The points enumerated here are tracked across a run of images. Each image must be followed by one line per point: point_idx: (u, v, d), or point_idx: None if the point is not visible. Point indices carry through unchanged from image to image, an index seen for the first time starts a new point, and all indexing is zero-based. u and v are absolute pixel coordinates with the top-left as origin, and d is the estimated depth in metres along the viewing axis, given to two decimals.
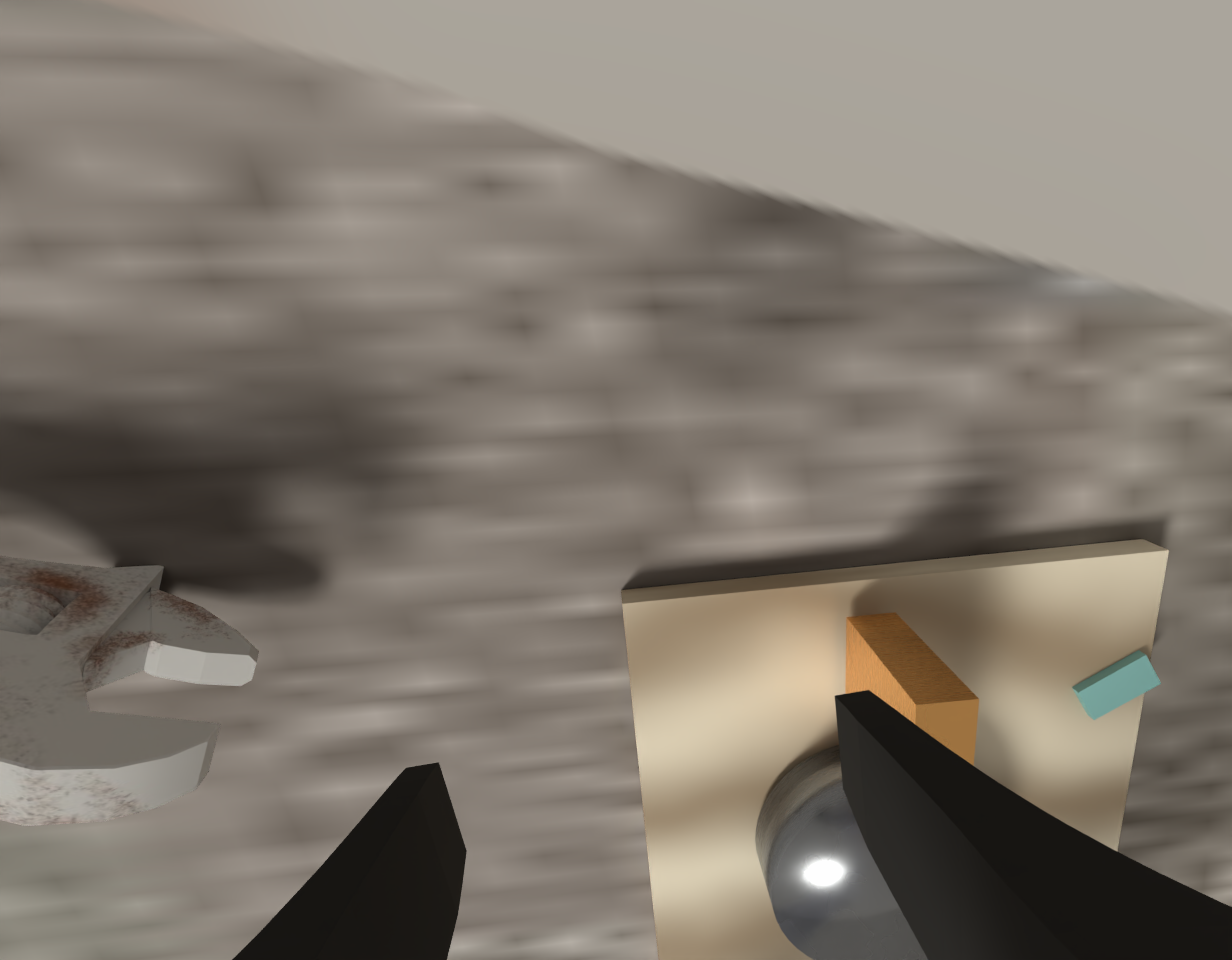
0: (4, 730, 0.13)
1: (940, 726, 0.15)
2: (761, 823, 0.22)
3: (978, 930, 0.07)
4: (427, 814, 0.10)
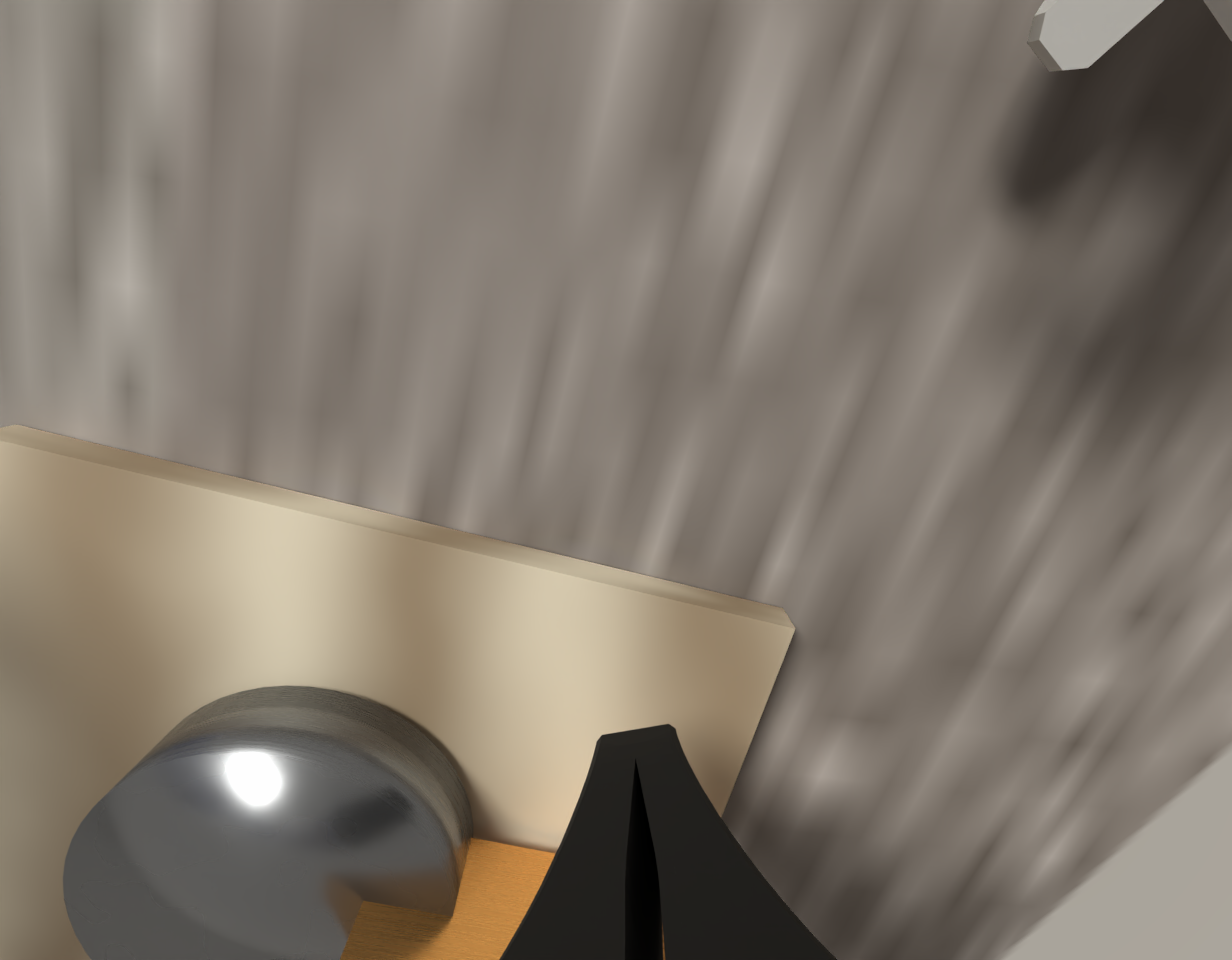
0: None
1: None
2: (376, 718, 0.14)
3: None
4: None
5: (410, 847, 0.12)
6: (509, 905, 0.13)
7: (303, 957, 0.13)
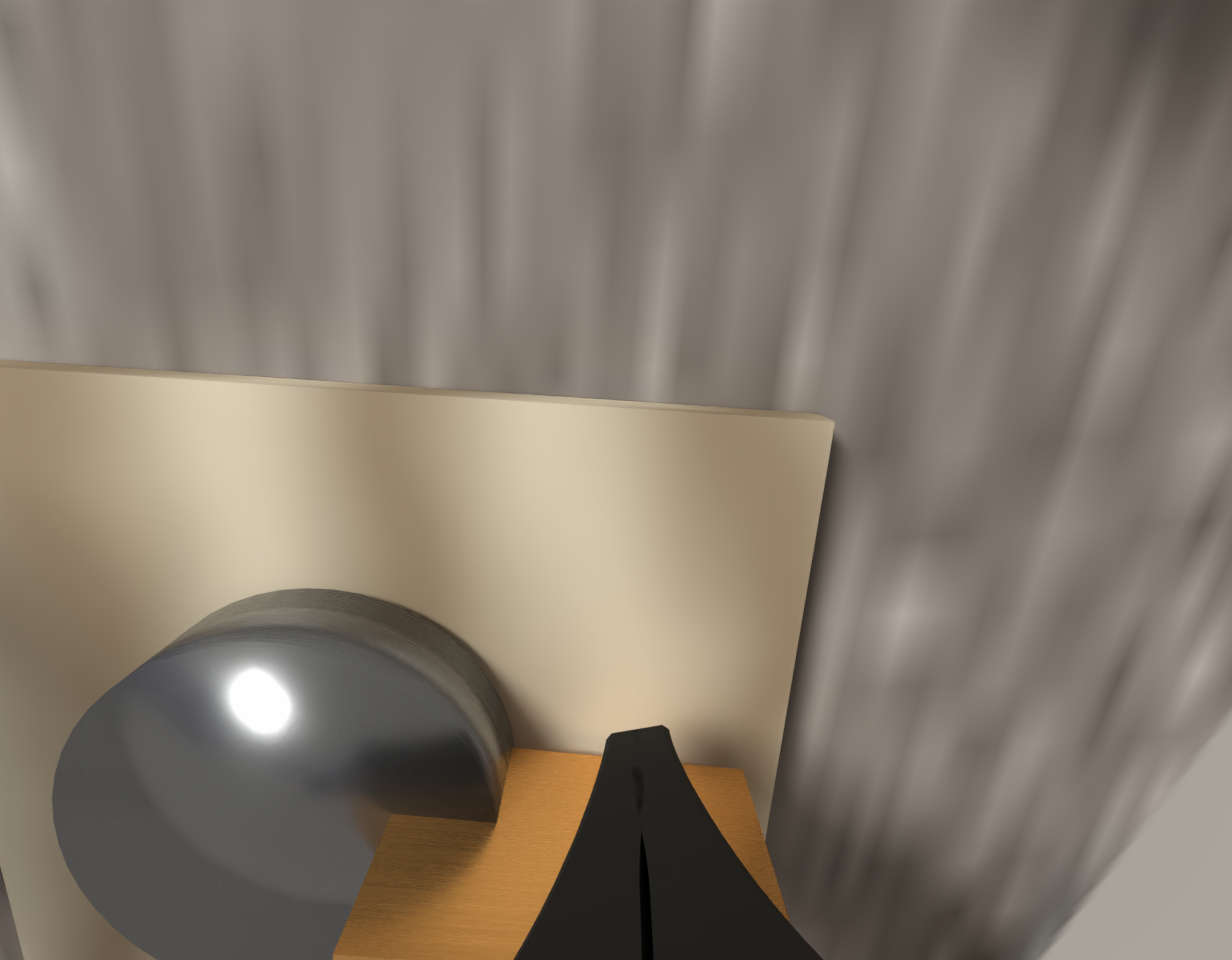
0: None
1: None
2: (385, 613, 0.12)
3: None
4: None
5: (435, 742, 0.11)
6: (561, 808, 0.12)
7: (334, 889, 0.11)
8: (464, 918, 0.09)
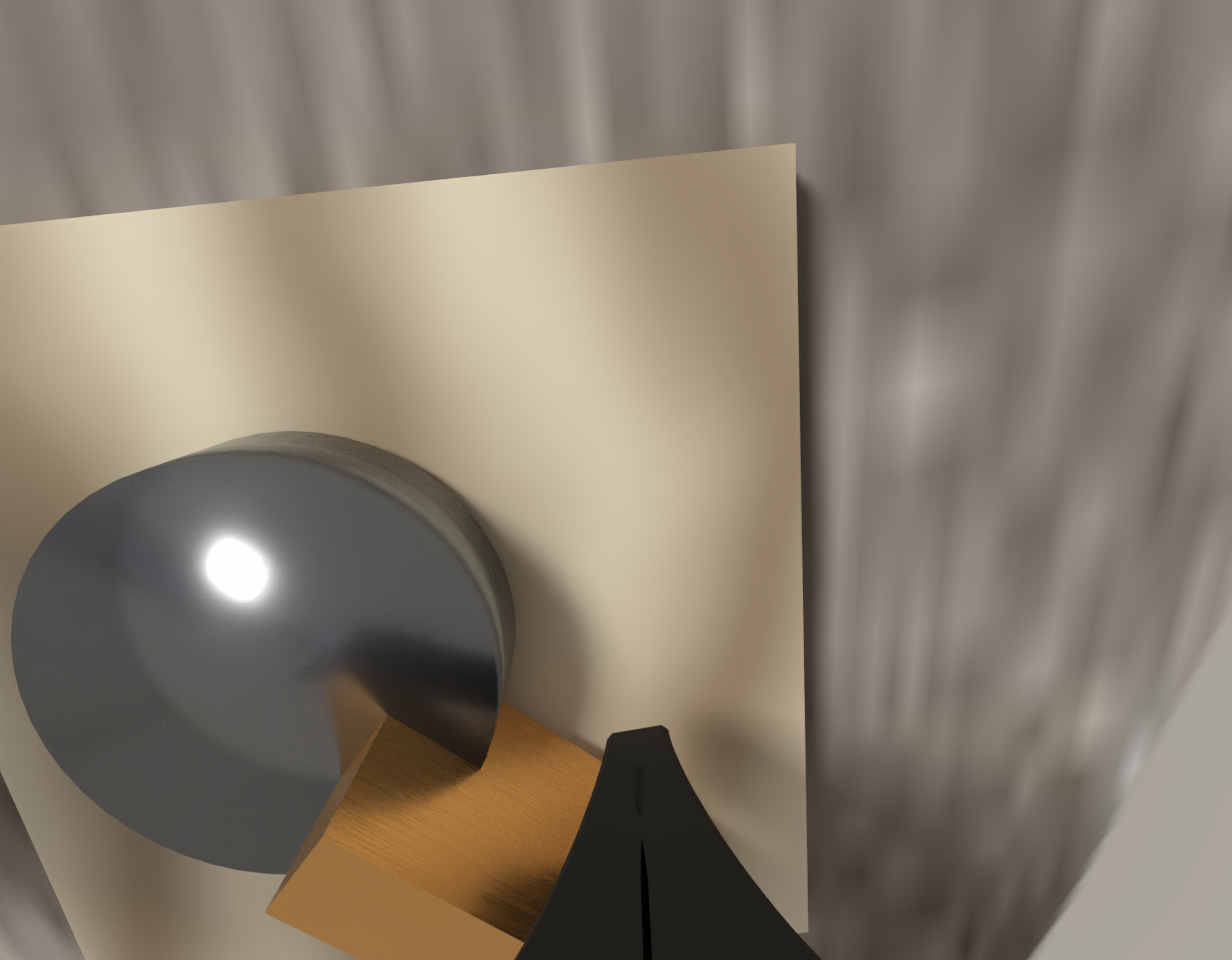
0: None
1: None
2: (465, 520, 0.11)
3: None
4: None
5: (474, 669, 0.10)
6: (537, 781, 0.11)
7: (281, 760, 0.11)
8: (445, 853, 0.09)
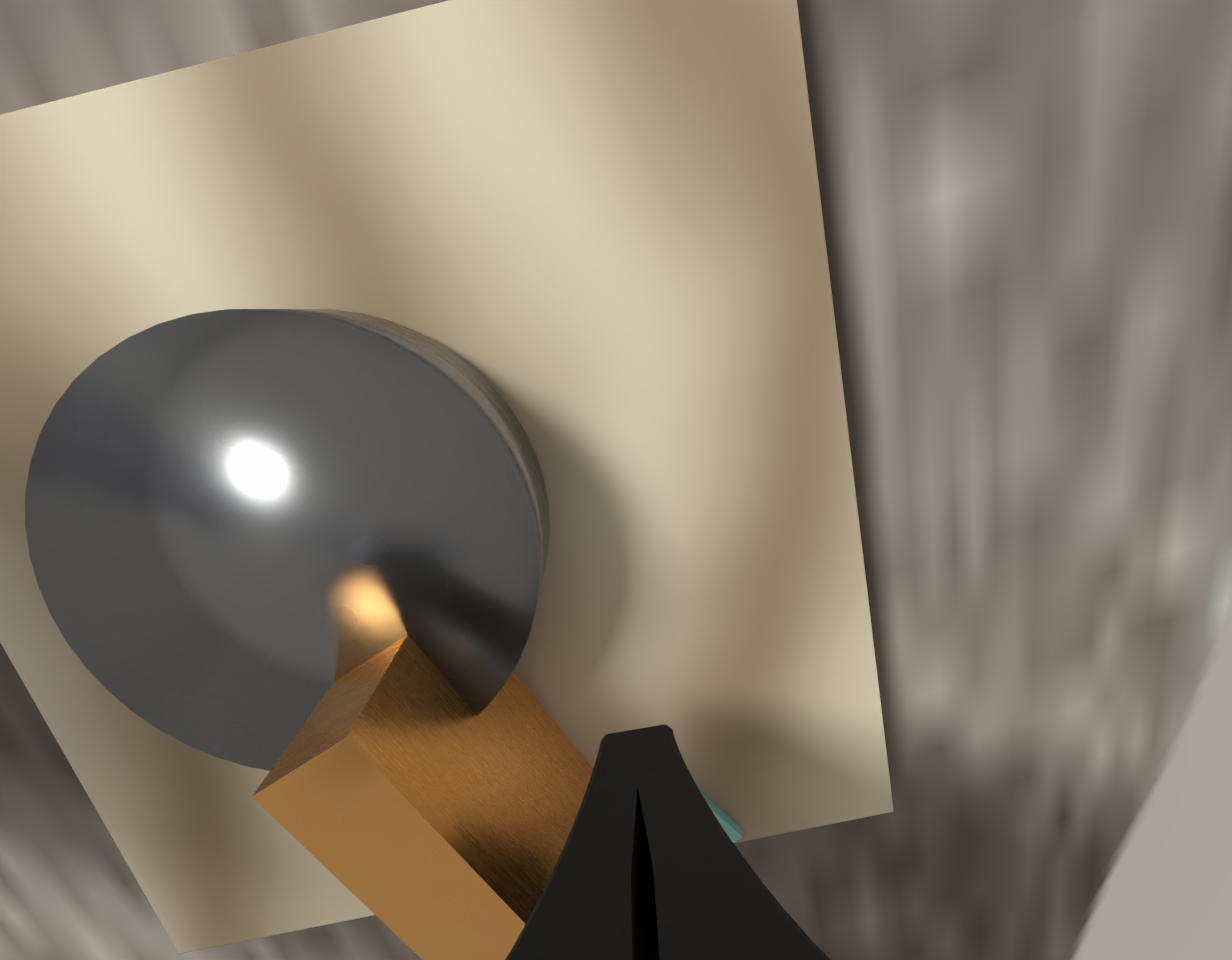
0: None
1: None
2: (537, 469, 0.11)
3: None
4: None
5: (512, 616, 0.10)
6: (521, 743, 0.11)
7: (280, 647, 0.10)
8: (444, 788, 0.09)
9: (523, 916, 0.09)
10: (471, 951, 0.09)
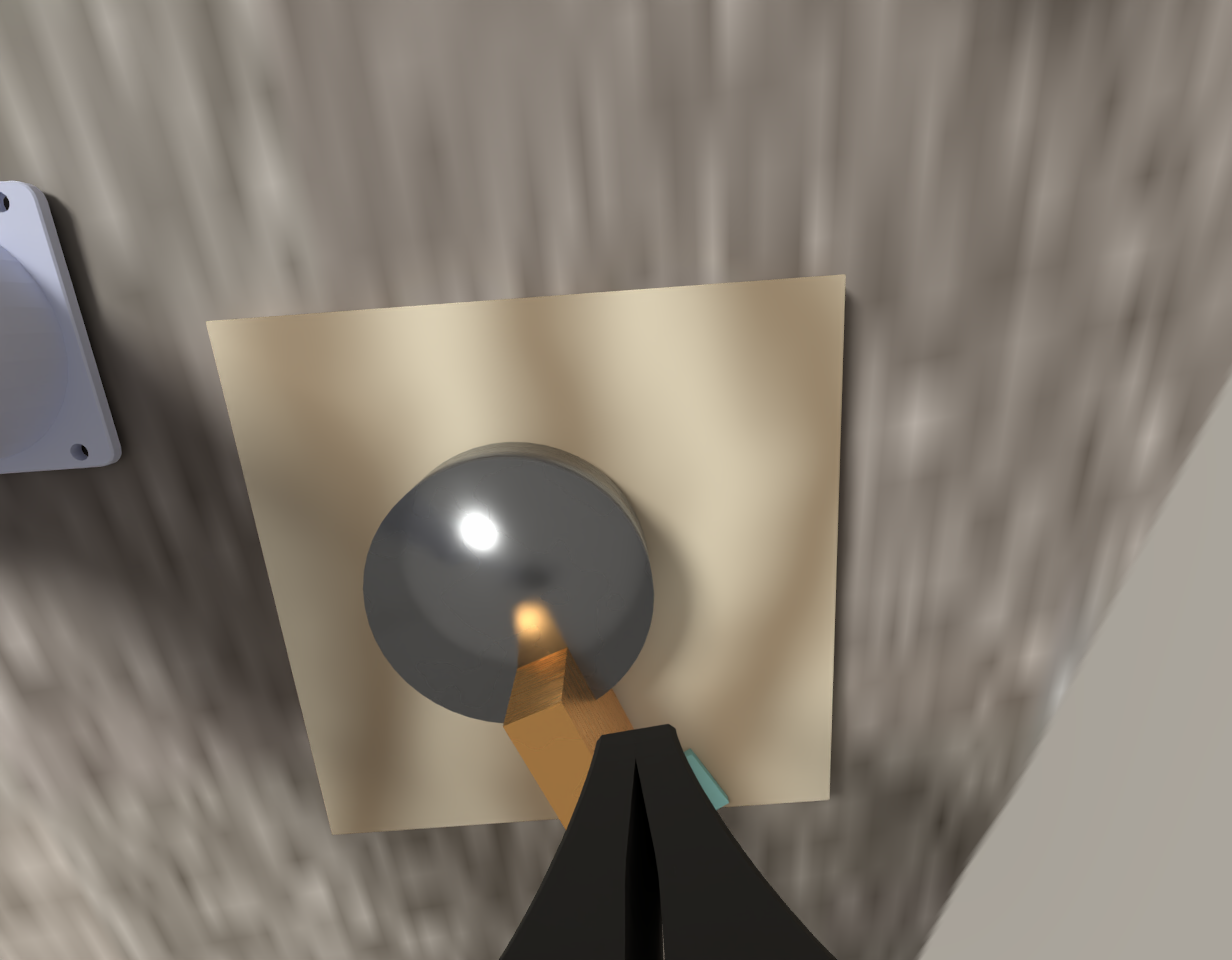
0: None
1: None
2: None
3: None
4: (640, 779, 0.10)
5: (630, 645, 0.17)
6: (613, 720, 0.18)
7: (491, 643, 0.17)
8: (592, 737, 0.16)
9: None
10: None
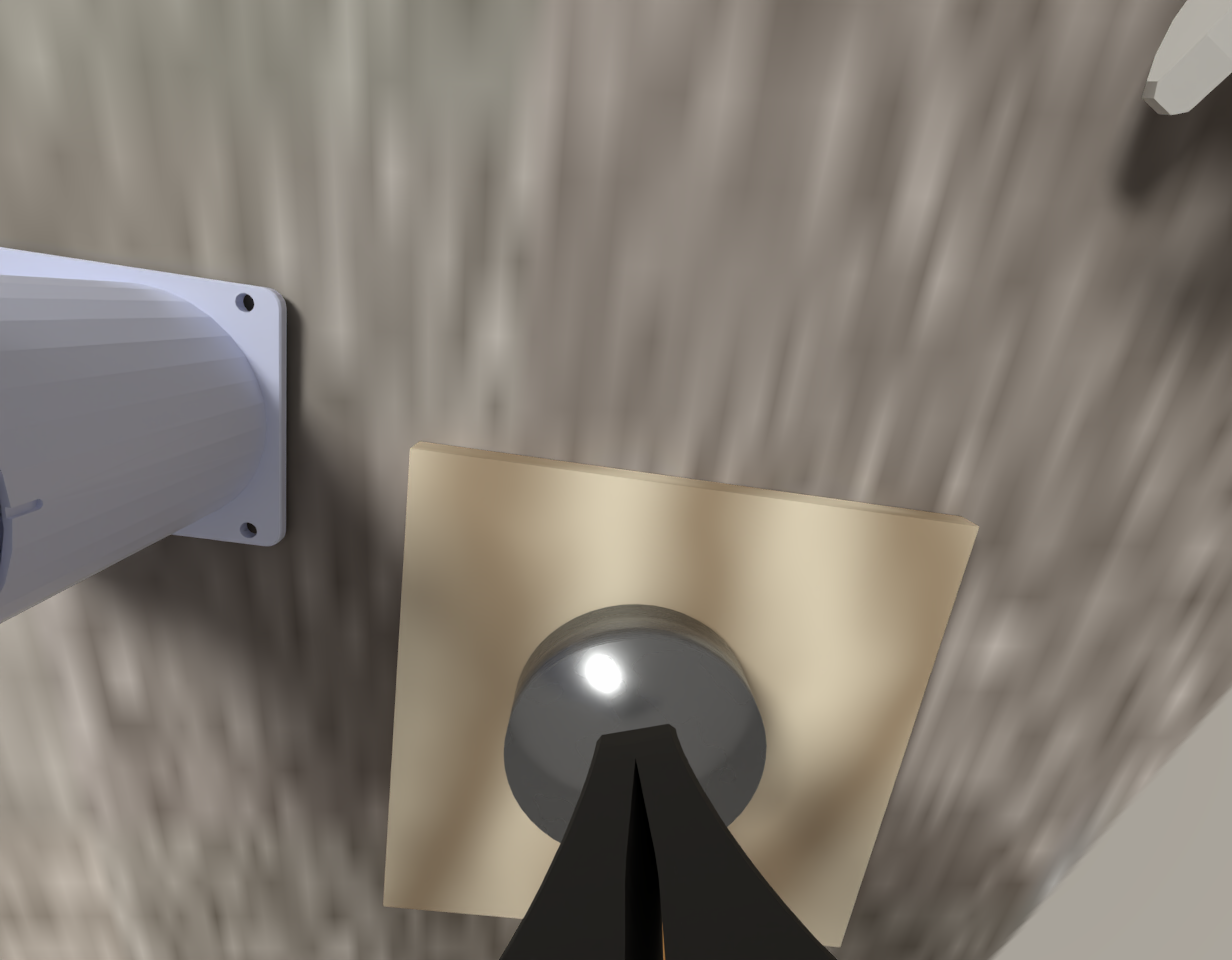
0: None
1: None
2: None
3: None
4: (640, 779, 0.10)
5: (729, 812, 0.19)
6: None
7: None
8: None
9: None
10: None
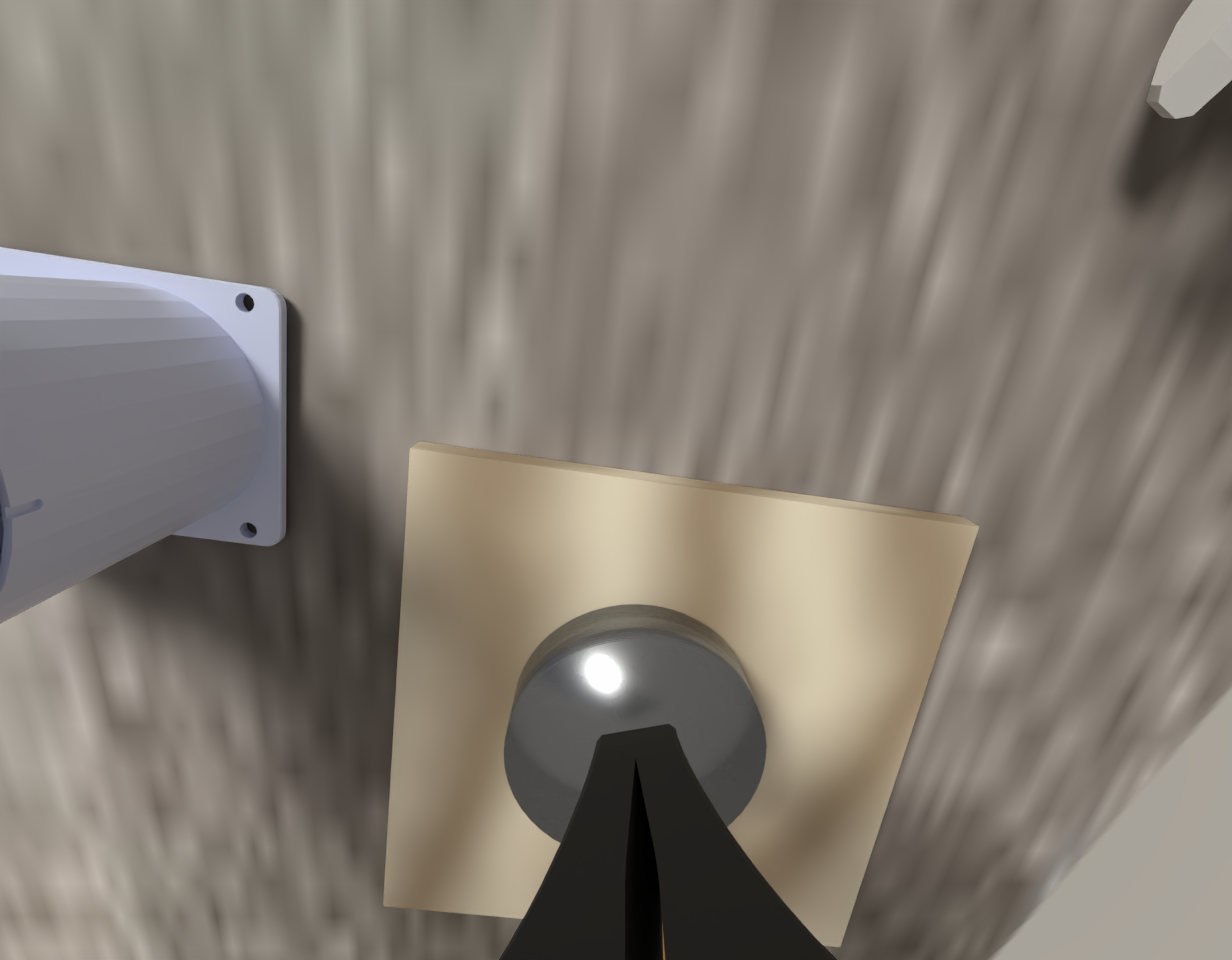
0: None
1: None
2: None
3: None
4: (640, 779, 0.10)
5: (729, 812, 0.19)
6: None
7: None
8: None
9: None
10: None
